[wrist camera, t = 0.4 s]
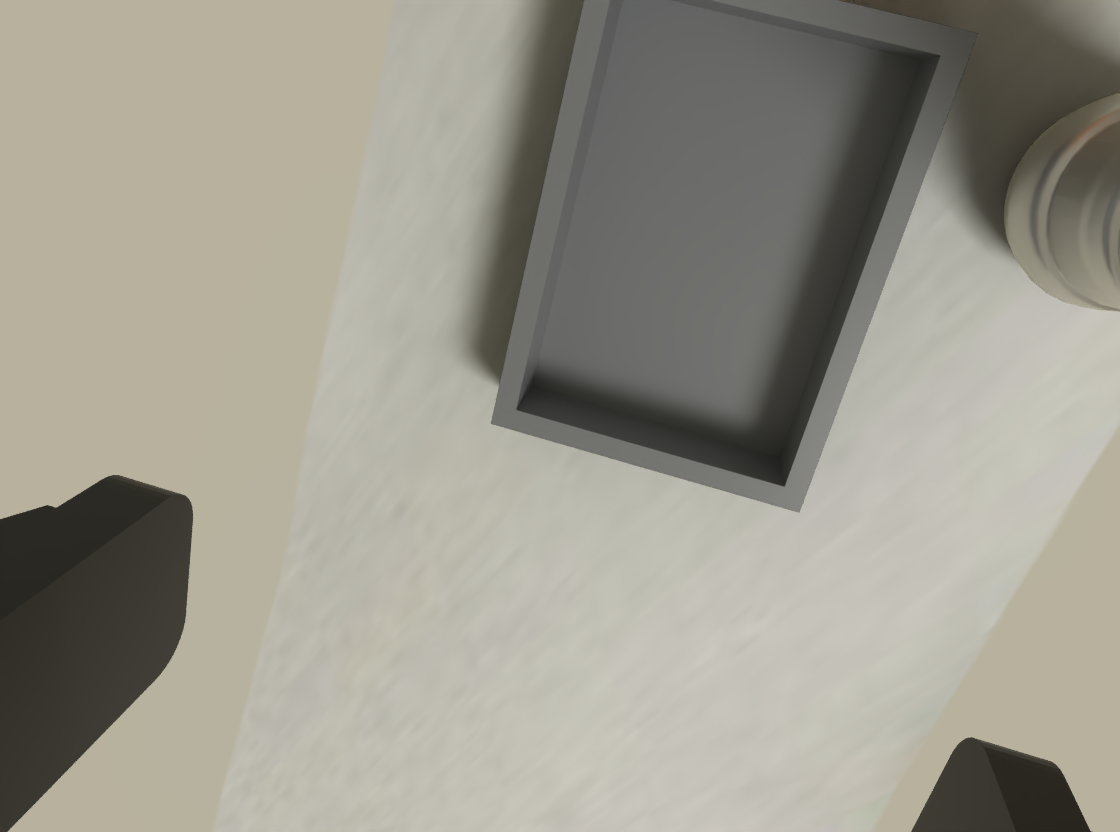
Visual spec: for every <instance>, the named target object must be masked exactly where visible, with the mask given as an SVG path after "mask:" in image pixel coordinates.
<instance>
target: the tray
mask: <svg viewBox="0 0 1120 832" xmlns="http://www.w3.org/2000/svg"><path fill="white" fill-rule="evenodd" d="M977 35H978V33H975V32H971V31H966V30H962V29H958V28H954V27H950V26H945V25H941V24H937V23H933V22H928V21H924V20H920V19H916V18H911V17H907V16H903V15H899V14H895V13H890V12H886V11H882V10H878V9H873V8H869V7H865V6H861V5H856V4H852V3H848V2H844V1H840V0H584V3H583V8H582V12H581V17H580V21H579V26H578V30H577V35H576V39H575V44H574V48H573V53H572V58H571V62H570V67H569V71H568V76H567V80H566V85H565V89H564V94H563V98H562V103H561V108H560V112H559V117H558V121H557V126H556V130H555V135H554V139H553V144H552V148H551V153H550V157H549V162H548V167H547V171H546V176H545V180H544V185H543V189H542V194H541V198H540V203H539V207H538V212H537V217H536V221H535V226H534V230H533V235H532V239H531V244H530V248H529V253H528V257H527V262H526V267H525V271H524V276H523V280H522V285H521V289H520V294H519V298H518V303H517V307H516V312H515V316H514V321H513V326H512V330H511V335H510V339H509V344H508V348H507V353H506V357H505V362H504V366H503V371H502V376H501V380H500V385H499V389H498V394H497V398H496V403H495V407H494V412H493V416H492V421H491V424H494V425H497V426H501V427H504V428H508V429H511V430H515V431H518V432H521V433H525V434H528V435H532V436H535V437H539V438H542V439H546V440H549V441H553V442H556V443H560V444H563V445H567V446H570V447H574V448H577V449H580V450H584V451H587V452H591V453H594V454H598V455H601V456H605V457H608V458H612V459H615V460H619V461H622V462H626V463H629V464H632V465H636V466H639V467H643V468H646V469H650V470H653V471H657V472H660V473H664V474H667V475H671V476H674V477H678V478H681V479H684V480H688V481H691V482H695V483H698V484H702V485H705V486H709V487H712V488H716V489H719V490H723V491H726V492H730V493H733V494H736V495H740V496H743V497H747V498H750V499H754V500H757V501H761V502H764V503H768V504H771V505H775V506H778V507H782V508H785V509H788V510H792V511H795V512H800V509H801V507H802V504H803V501H804V499H805V496H806V493H807V491H808V488H809V485H810V483H811V480H812V477H813V475H814V472H815V469H816V467H817V464H818V461H819V459H820V456H821V453H822V450H823V448H824V445H825V442H826V440H827V437H828V434H829V432H830V429H831V426H832V424H833V421H834V418H835V416H836V413H837V410H838V408H839V405H840V402H841V400H842V397H843V394H844V392H845V389H846V386H847V383H848V381H849V378H850V375H851V373H852V370H853V367H854V365H855V362H856V359H857V357H858V354H859V351H860V349H861V346H862V343H863V341H864V338H865V335H866V333H867V330H868V327H869V324H870V322H871V319H872V316H873V314H874V311H875V308H876V306H877V303H878V300H879V298H880V295H881V292H882V290H883V287H884V284H885V282H886V279H887V276H888V274H889V271H890V268H891V266H892V263H893V260H894V257H895V255H896V252H897V249H898V247H899V244H900V241H901V239H902V236H903V233H904V231H905V228H906V225H907V223H908V220H909V217H910V215H911V212H912V209H913V207H914V204H915V201H916V198H917V196H918V193H919V190H920V188H921V185H922V182H923V180H924V177H925V174H926V172H927V169H928V166H929V164H930V161H931V158H932V156H933V153H934V150H935V148H936V145H937V142H938V139H939V137H940V134H941V131H942V129H943V126H944V123H945V121H946V118H947V115H948V113H949V110H950V107H951V105H952V102H953V99H954V97H955V94H956V91H957V89H958V86H959V83H960V81H961V78H962V75H963V72H964V70H965V67H966V64H967V62H968V59H969V56H970V54H971V51H972V48H973V46H974V43H975V40H976V38H977Z"/></svg>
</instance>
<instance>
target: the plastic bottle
mask: <svg viewBox="0 0 1120 832" xmlns="http://www.w3.org/2000/svg"><path fill="white" fill-rule="evenodd" d="M1004 225H1005V231H1006V236H1007V240H1008V243H1009V245H1010V247H1011V250H1012V252H1013V254H1014V256H1015V258H1016V260H1017V261H1018V263H1019V264H1020V266H1021V267H1022V268H1023V270H1024V271H1025V272H1026V274H1027V275H1028V276H1029V278H1030V279H1031V281H1033V282H1034V283H1035V284H1036V285H1037V286H1039V287H1040V288H1041V289H1042V290H1043V291H1045V292H1046V293H1047V294H1049V295H1051V296H1053V297H1055V298H1057V299H1059V300H1061V301H1063V302H1066V303H1070V304H1074V305H1077V306H1081V307H1086V308H1091V309H1097V310H1106V311H1120V93H1116V94H1113V95H1110V96H1107V97H1105V98H1102V99H1099V100H1096V101H1093V102H1091V103H1089V104H1087V105H1086V106H1084V107H1082V108H1080V109H1078V110H1076V111H1074V112H1072V113H1070V114H1069V115H1067V116H1065V117H1063V118H1061V119H1060V120H1058V121H1057V122H1056V123H1055V124H1053V125H1052V126H1051V127H1050V128H1048V129H1047V130H1046V131H1044V132H1043V133H1042V134H1041V135H1040V136H1039V138H1038V139H1037V140H1036V141H1035V142H1034V143H1033V144H1032V145H1031V146H1030V147H1029V148H1028V150H1027V151H1026V153H1025V154H1024V156H1023V158H1022V159H1021V161H1020V162H1019V164H1018V165H1017V167H1016V169H1015V172H1014V174H1013V176H1012V179H1011V181H1010V183H1009V186H1008V191H1007V195H1006V199H1005V204H1004Z"/></svg>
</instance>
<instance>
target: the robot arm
mask: <svg viewBox="0 0 1120 832" xmlns="http://www.w3.org/2000/svg"><path fill="white" fill-rule="evenodd" d="M192 523H193V510H192V505H191V502H190V500H189V499H188V498H187V497H186V496H185V495H182V494H178V493H175V492H172V491H169V490H165V489H162V488H159V487H156V486H152V485H149V484H145V483H142V482H139V481H135V480H133V479H129V478H126V477H123V476H119V475H112V476H108V477H106V478H104V479H102V480H100V481H99V482H97V483H96V484H94V485H92V486H91V487H89V488H88V489H86V490H84V491H83V492H81V493H80V494H78V495H76V496H75V497H73V498H72V499H70V500H68V501H67V502H65V503H63V504H62V505H60V506H59V507H57V508H54V507H52V506H48V505H47V506H43V507H40V508H37V509H33V510H30V511H27V512H23V513H20V514H16V515H13V516H10V517H7V518H3V519H0V832H7V831H9V829H10V828H11V827H12V826H13V825H14V824H15V823H16V822H17V821H18V820H19V819H20V818H21V817H22V816H23V815H24V814H25V813H26V812H27V811H28V810H29V809H30V808H31V807H32V806H33V805H34V804H35V803H36V802H37V801H38V800H39V799H40V798H41V797H42V796H43V794H44V793H46V792H47V791H48V789H49V788H50V787H51V786H52V785H53V784H54V783H55V782H56V781H57V780H58V779H59V778H60V777H61V776H62V775H63V774H64V773H65V772H66V771H67V770H68V769H69V768H70V767H71V766H72V765H73V764H74V763H75V761H77V760H78V759H79V758H80V757H81V756H82V755H83V753H84V752H86V750H87V749H88V748H89V747H90V746H91V745H92V744H93V743H94V742H95V741H96V740H97V739H98V738H99V737H100V736H101V735H102V734H103V733H104V732H105V731H106V730H107V729H108V728H109V727H110V726H111V725H112V724H113V723H114V722H115V721H116V720H117V719H118V718H119V717H120V716H121V715H122V714H123V713H124V711H125V710H126V709H127V708H128V707H129V706H130V705H131V704H132V703H133V702H134V701H135V700H136V699H137V698H138V697H139V696H140V695H141V694H142V693H143V692H144V691H145V690H146V689H147V688H148V687H149V686H150V685H151V684H152V683H153V682H154V681H155V679H157V677H158V676H159V675H160V674H161V673H162V671H163V670H164V669H165V667H166V666H167V664H168V663H169V661H170V659H171V658H172V656H173V654H174V652H175V650H176V648H177V645H178V643H179V640H180V638H181V635H182V631H183V628H184V623H185V617H186V605H187V592H188V578H189V564H190V551H191V537H192ZM912 832H1091V831H1090V829H1089V827H1088V825H1087V823H1086V821H1085V819H1084V817H1083V815H1082V812H1081V810H1080V808H1079V806H1078V804H1077V802H1076V800H1075V798H1074V796H1073V794H1072V792H1071V790H1070V787H1069V785H1068V783H1067V782H1066V779H1065V777H1064V775H1063V774H1062V772H1061V770H1060V769H1059V768H1058V767H1057V765H1056V764H1054V763H1053V762H1051V761H1048V760H1044V759H1040V758H1038V757H1034V756H1031V755H1028V754H1024V753H1021V752H1018V751H1015V750H1011V749H1008V748H1005V747H1002V746H998V745H995V744H992V743H989V742H985V741H982V740H978V739H975V738H972V737H971V738H966V739H965V740H963V741H961V742H960V743H959V744H958V745H957V747H956V748H955V749H954V751H953V753H952V754H951V756H950V758H949V760H948V762H947V764H946V766H945V768H944V770H943V771H942V773H941V775H940V777H939V779H938V781H937V783H936V785H935V787H934V789H933V791H932V793H931V795H930V797H929V799H928V801H927V802H926V804H925V807H924V808H923V810H922V812H921V814H920V816H919V818H918V820H917V822H916V824H915V826H914V828H913V829H912Z"/></svg>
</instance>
